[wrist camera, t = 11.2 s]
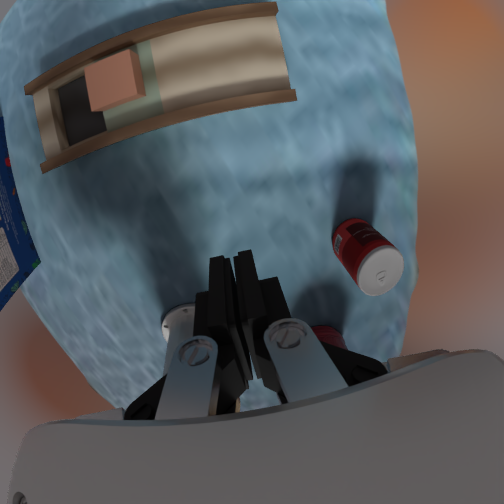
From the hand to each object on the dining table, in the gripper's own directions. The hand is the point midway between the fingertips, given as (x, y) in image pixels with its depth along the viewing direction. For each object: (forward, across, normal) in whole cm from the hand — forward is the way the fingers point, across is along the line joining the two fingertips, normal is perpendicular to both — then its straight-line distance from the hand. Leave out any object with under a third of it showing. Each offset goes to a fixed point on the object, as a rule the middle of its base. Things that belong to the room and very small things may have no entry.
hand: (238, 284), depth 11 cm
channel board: (+29, +8, -14) cm, 33 cm away
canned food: (+29, -18, +16) cm, 38 cm away
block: (+26, +11, -15) cm, 32 cm away
